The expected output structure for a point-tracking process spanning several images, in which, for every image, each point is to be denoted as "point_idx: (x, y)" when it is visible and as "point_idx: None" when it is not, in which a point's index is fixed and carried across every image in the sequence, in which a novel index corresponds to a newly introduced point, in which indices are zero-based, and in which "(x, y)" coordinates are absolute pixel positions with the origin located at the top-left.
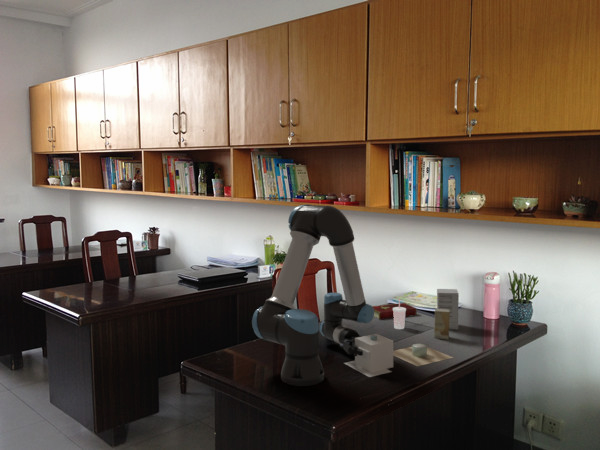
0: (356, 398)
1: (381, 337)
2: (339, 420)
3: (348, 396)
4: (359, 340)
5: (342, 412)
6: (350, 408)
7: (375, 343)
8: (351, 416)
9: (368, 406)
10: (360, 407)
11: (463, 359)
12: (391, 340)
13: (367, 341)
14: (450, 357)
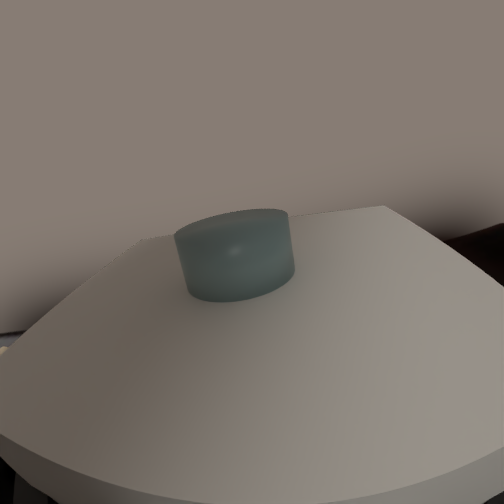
0: (475, 260)
1: (97, 294)
2: (499, 225)
3: (496, 267)
4: (496, 289)
5: (499, 235)
6: (486, 240)
7: (323, 218)
8: (482, 229)
9: (449, 241)
10: (466, 241)
11: (4, 339)
12: (141, 243)
13: (383, 245)
14: (3, 349)
